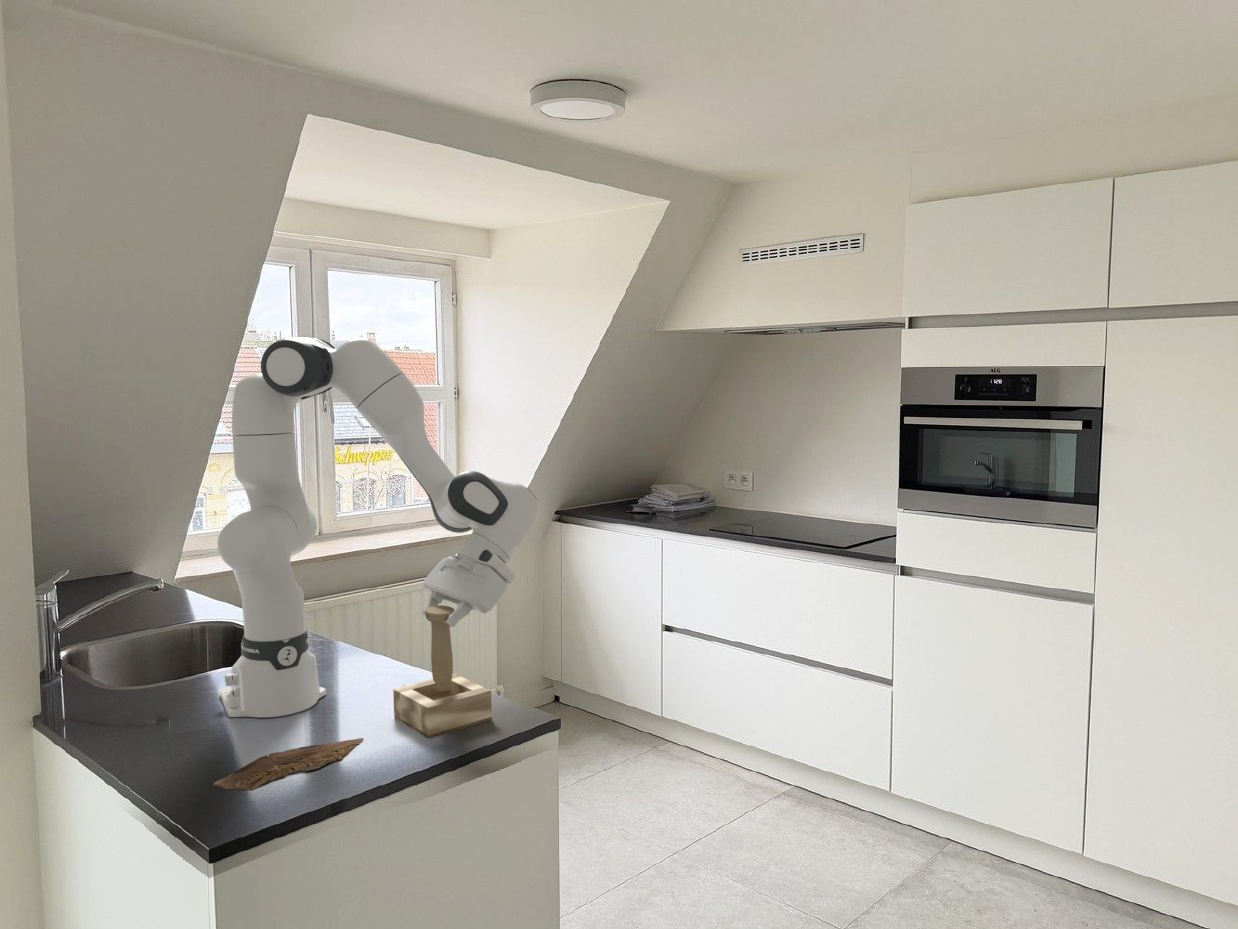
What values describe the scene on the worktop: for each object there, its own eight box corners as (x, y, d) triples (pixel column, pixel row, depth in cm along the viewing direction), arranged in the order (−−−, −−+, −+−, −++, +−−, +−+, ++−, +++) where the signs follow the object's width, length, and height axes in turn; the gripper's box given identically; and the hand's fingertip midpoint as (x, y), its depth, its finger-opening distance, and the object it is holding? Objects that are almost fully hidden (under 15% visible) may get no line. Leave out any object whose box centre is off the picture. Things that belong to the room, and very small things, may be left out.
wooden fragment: (226, 800, 140) (226, 793, 140) (202, 777, 148) (202, 771, 148) (381, 752, 158) (381, 746, 157) (352, 734, 166) (352, 728, 166)
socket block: (394, 718, 172) (393, 689, 171) (455, 701, 180) (454, 673, 180) (428, 738, 162) (427, 707, 161) (491, 720, 170) (491, 690, 170)
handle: (437, 696, 167) (434, 615, 165) (424, 687, 172) (420, 608, 171) (462, 691, 169) (459, 611, 168) (448, 681, 175) (445, 604, 173)
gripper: (442, 542, 180) (398, 600, 175) (500, 557, 165) (454, 621, 160) (463, 561, 184) (420, 619, 178) (521, 578, 168) (477, 641, 163)
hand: (437, 620), depth 169 cm, fingers closed on handle, 6 cm apart
